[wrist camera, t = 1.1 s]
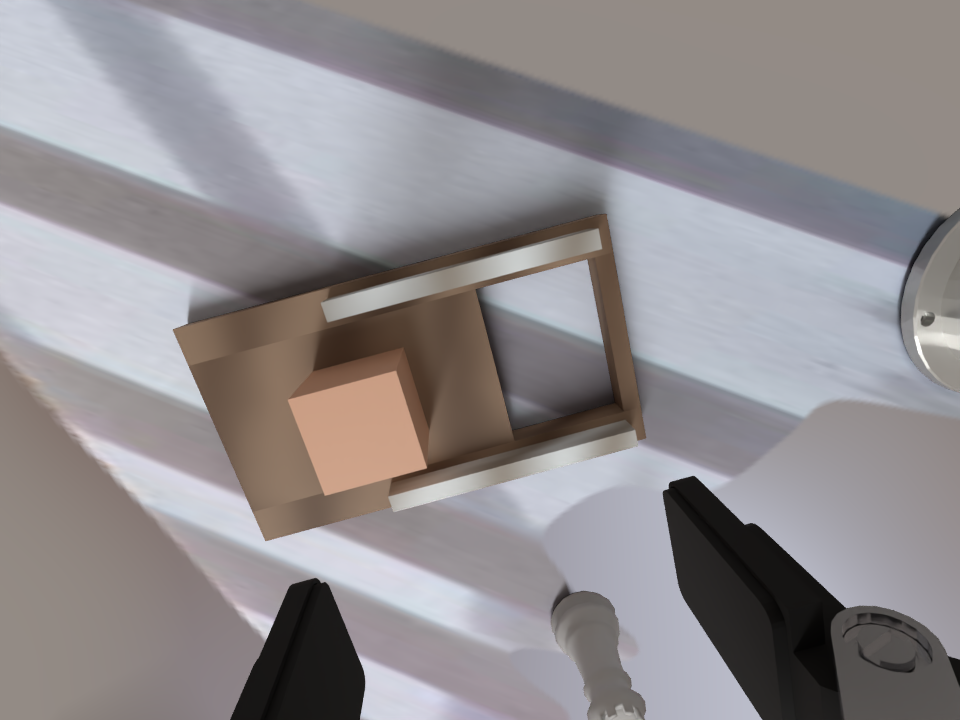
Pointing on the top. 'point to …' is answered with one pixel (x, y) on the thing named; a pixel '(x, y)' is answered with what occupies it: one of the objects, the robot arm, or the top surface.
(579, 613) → the rook chess piece
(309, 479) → the tan rectangular frame
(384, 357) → the block
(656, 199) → the top surface
